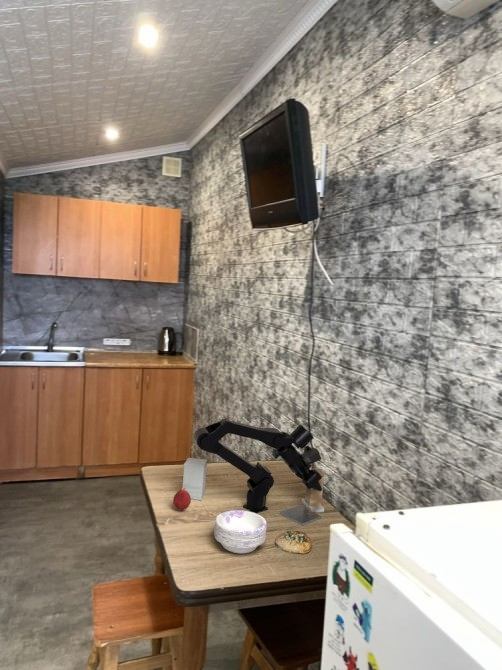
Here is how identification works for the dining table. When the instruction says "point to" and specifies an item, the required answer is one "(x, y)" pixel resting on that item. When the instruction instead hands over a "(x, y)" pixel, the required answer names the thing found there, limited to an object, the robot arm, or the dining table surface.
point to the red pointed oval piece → (182, 499)
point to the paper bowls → (240, 530)
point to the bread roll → (294, 542)
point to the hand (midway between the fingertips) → (318, 487)
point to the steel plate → (300, 515)
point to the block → (314, 496)
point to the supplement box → (195, 477)
